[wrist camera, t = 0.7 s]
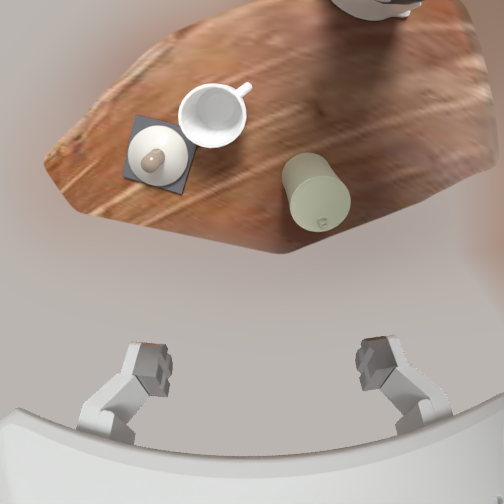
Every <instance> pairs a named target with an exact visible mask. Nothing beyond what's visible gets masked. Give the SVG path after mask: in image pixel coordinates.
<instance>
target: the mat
mask: <svg viewBox="0 0 504 504" xmlns="http://www.w3.org/2000/svg"><path fill="white" fill-rule="evenodd" d="M154 125H163V126H167V127H170V128H172V129H174V130H176V131H177V132H178V133H179V134H180V135H181V136H182V137H183V138H184V140H185V142H186V144H187V147H188V151H189V160H188V164H187V167H186V169H185V171H184V172H183V174H182V175H181V176H180V177H179V178H178V179H177V180H176V181H174V182H173V183H170V184H168V185H164V186H156V187H160V188H163V189H166V190H170V191H173V192H176V193H179V194H182V192H183V189H184V185H185V182H186V178H187V175H188V172H189V169H190V165H191V162H192V159H193V156H194V153H195V150H196V147H197V144H195V143H193V142H192V141H190V140H189V139H188V138H187V137H186V136H185V134H184V133H183V132H182V130H181V127H180V126H179V125H175V124H172V123H168V122H164V121H161V120H157V119H153V118H149V117H145V116H141V115H136V116H135V120H134V124H133V128H132V132H131V136H130V141H129V146H130V143H131V141H132V139H133V138H134V137H135V136H136V135H137V134H138V133H139V132H140V131H142V130H143V129H145V128H147V127H150V126H154ZM129 146H128V149H129ZM123 177H126V178H130V179H133V180H136V181H140V182H143V181H142V180H140V179H139V178H138V177H137V176H136V175H135V174H134V173H133V171H132V169H131V167H130V165H129V161H128V150H127V155H126V160H125V166H124V171H123ZM143 183H145V182H143ZM146 184H147V183H146ZM153 186H154V185H153Z"/></svg>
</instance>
